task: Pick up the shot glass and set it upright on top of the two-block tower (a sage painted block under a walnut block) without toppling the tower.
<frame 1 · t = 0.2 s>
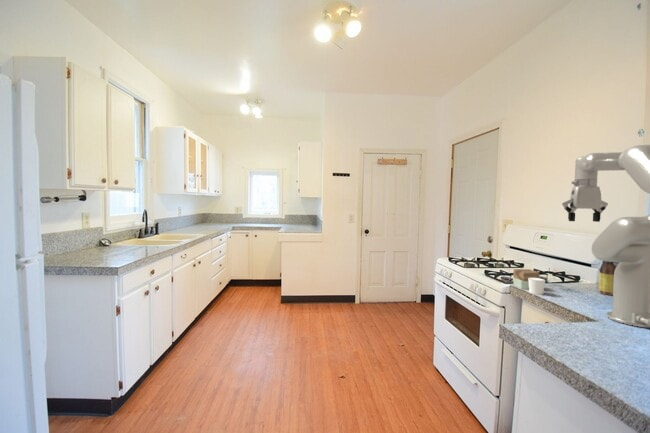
hand: (583, 221, 126), 36 cm above the countertop, tool pointing down, fingers open, 9 cm apart
shot glass: (536, 293, 137), on the countertop
upper block: (525, 279, 147), point 4 cm above the countertop, touching lower block
lower block: (525, 287, 147), on the countertop, touching upper block
sauce bottle: (607, 294, 136), on the countertop
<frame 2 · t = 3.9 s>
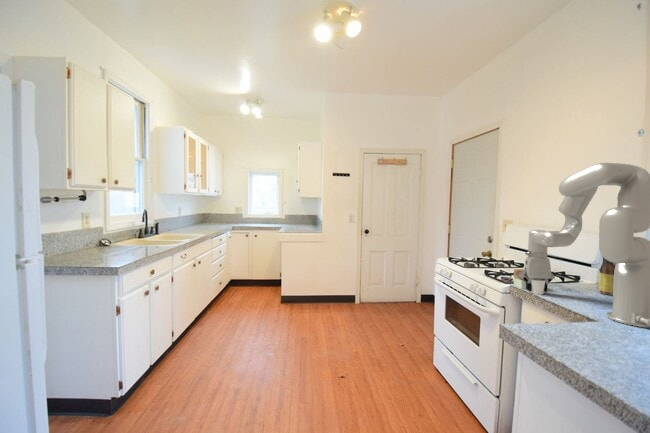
hand: (536, 290, 137), 1 cm above the countertop, tool pointing down, fingers closed on shot glass, 6 cm apart
shot glass: (536, 293, 137), on the countertop, touching gripper
everything else where it was.
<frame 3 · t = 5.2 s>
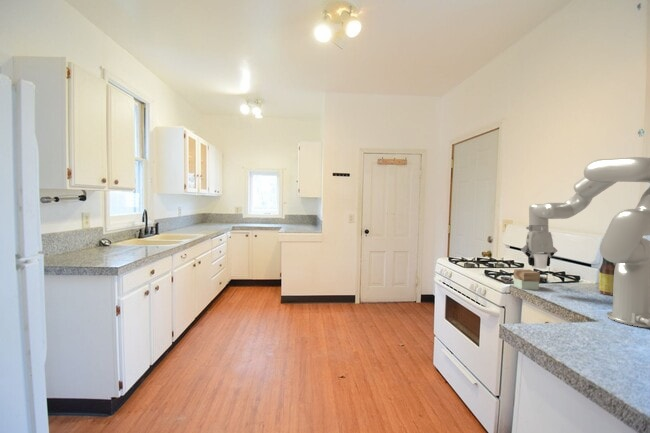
hand: (539, 265, 136), 14 cm above the countertop, tool pointing down, fingers closed on shot glass, 6 cm apart
shot glass: (539, 267, 136), point 13 cm above the countertop, touching gripper
everything else where it was.
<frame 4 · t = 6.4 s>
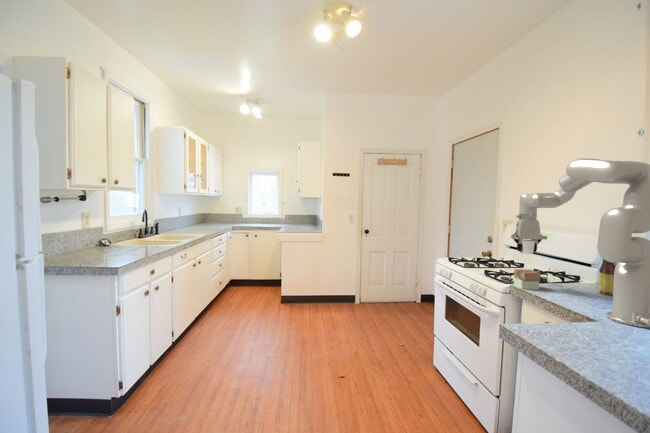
hand: (526, 251, 147), 19 cm above the countertop, tool pointing down, fingers closed on shot glass, 6 cm apart
shot glass: (526, 253, 147), point 18 cm above the countertop, touching gripper
everything else where it was.
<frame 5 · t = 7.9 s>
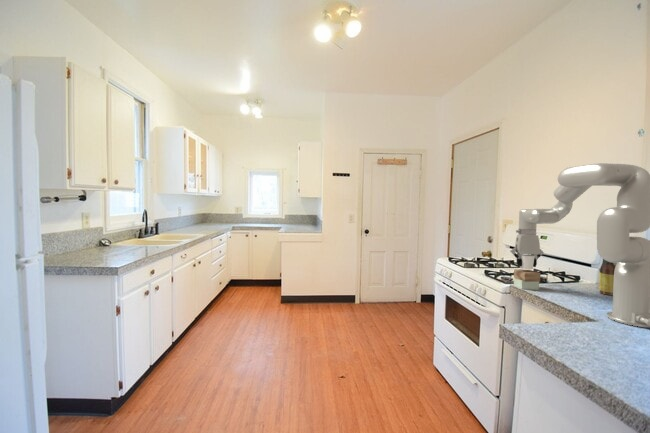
hand: (526, 266, 147), 11 cm above the countertop, tool pointing down, fingers closed on shot glass, 6 cm apart
shot glass: (526, 268, 147), point 10 cm above the countertop, touching gripper
everything else where it was.
when the fingers open (11 cm above the countertop, at t = 8.6 s): shot glass drops 1 cm, resting on upper block.
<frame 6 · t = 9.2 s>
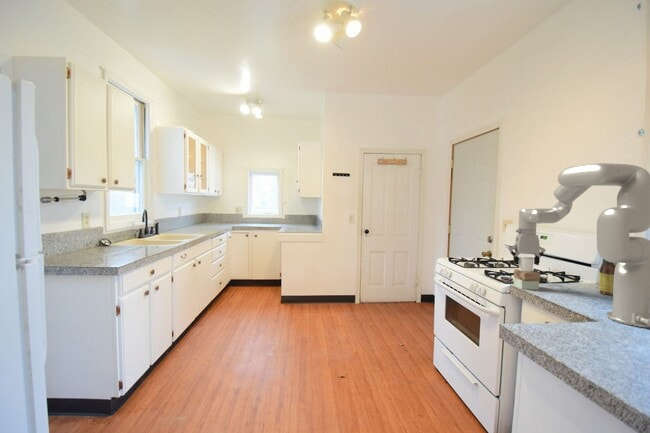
hand: (526, 264, 147), 12 cm above the countertop, tool pointing down, fingers open, 9 cm apart
shot glass: (525, 271, 147), point 9 cm above the countertop, touching upper block
upper block: (526, 279, 146), point 4 cm above the countertop, touching lower block, shot glass
everything else where it was.
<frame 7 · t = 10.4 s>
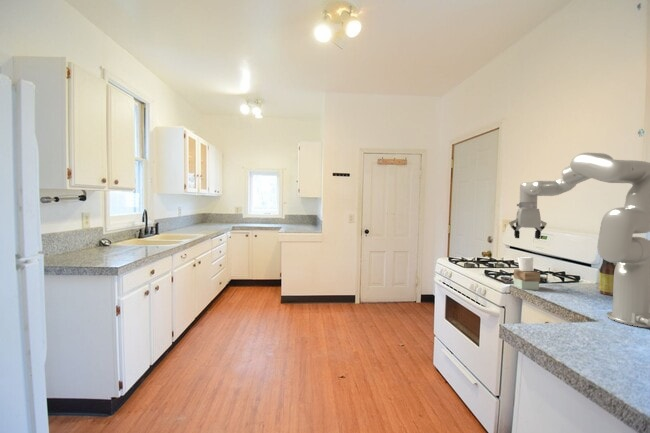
hand: (527, 238, 146), 26 cm above the countertop, tool pointing down, fingers open, 9 cm apart
nothing on the countertop moved.
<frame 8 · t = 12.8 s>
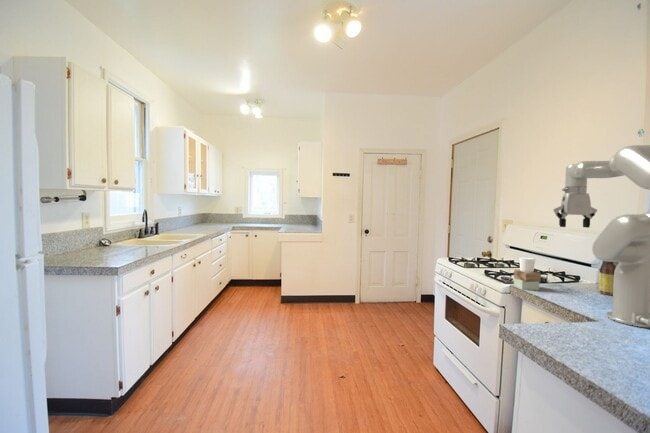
hand: (574, 227, 130), 33 cm above the countertop, tool pointing down, fingers open, 9 cm apart
at the end: shot glass 0.3 cm off-centre on the upper block, point 4.3 cm above the upper block's base; shot glass tilted 1°; upper block moved 1.0 cm from its start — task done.
